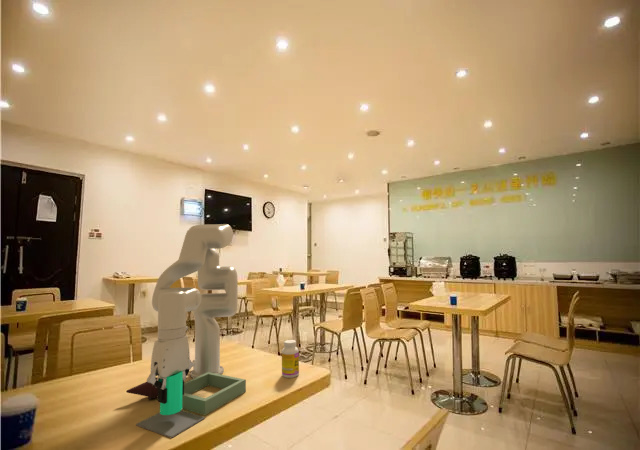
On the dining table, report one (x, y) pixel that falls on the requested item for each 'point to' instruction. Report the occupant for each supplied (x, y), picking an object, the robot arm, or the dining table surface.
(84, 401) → the dining table surface
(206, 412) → the box
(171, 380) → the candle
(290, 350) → the supplement bottle
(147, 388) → the icecream
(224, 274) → the robot arm
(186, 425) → the rubber mat
